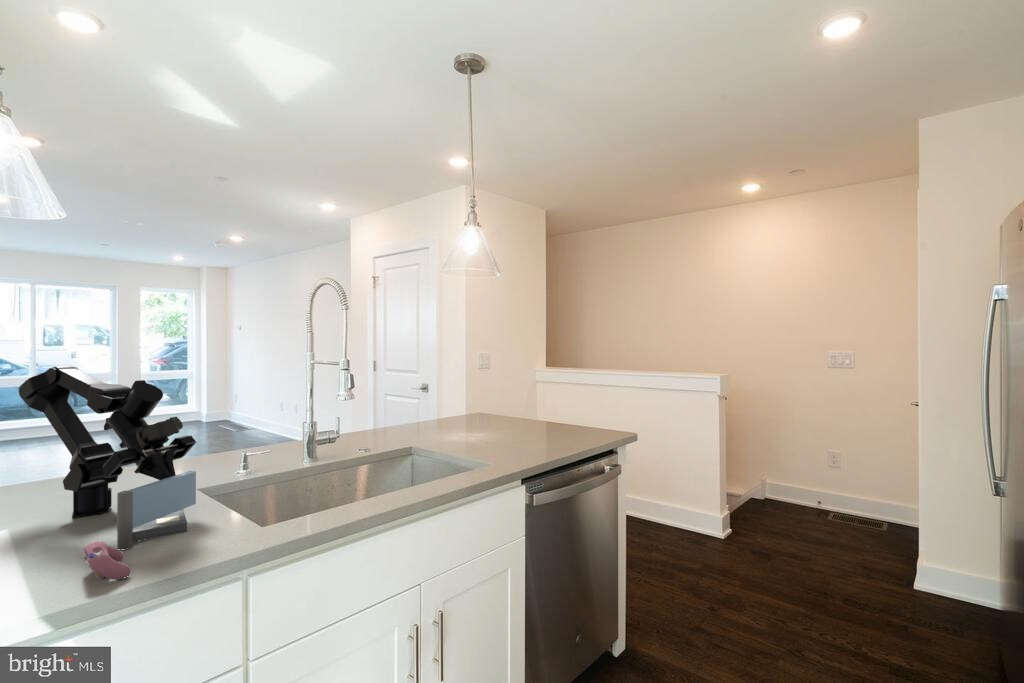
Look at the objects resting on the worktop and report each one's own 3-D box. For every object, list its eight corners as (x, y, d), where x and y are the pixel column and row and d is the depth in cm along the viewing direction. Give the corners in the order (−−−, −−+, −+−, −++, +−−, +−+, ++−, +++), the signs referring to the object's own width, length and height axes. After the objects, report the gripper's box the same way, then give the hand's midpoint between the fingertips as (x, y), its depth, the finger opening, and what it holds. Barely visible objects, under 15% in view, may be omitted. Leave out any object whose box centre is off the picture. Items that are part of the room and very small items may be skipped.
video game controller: (97, 574, 91) (74, 545, 89) (125, 556, 94) (103, 527, 92) (104, 594, 84) (79, 563, 82) (134, 574, 87) (111, 544, 85)
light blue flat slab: (123, 550, 97) (124, 494, 97) (114, 549, 98) (114, 493, 98) (197, 519, 114) (197, 471, 114) (188, 518, 114) (188, 470, 114)
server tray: (121, 544, 100) (122, 533, 100) (123, 517, 114) (123, 508, 114) (187, 531, 107) (187, 521, 107) (180, 507, 121) (180, 498, 121)
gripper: (113, 413, 103) (157, 470, 101) (189, 401, 121) (228, 449, 119) (83, 449, 105) (125, 506, 102) (163, 432, 123) (200, 480, 121)
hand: (174, 483), depth 111 cm, fingers closed
